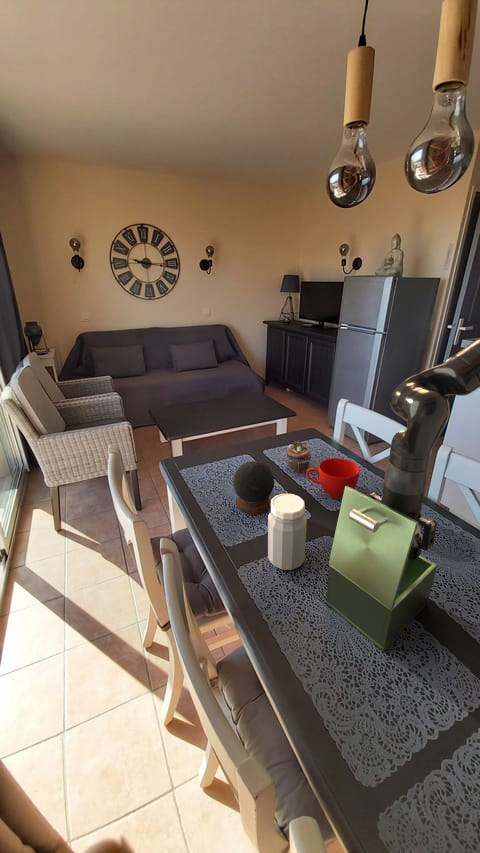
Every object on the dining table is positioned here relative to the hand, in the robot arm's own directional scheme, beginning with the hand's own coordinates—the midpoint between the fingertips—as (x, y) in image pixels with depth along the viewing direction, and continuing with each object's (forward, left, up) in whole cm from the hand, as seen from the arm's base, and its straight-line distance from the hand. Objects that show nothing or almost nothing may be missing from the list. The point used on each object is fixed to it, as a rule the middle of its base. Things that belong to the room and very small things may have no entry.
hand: (393, 546), depth 78 cm
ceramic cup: (-24, -35, -15) cm, 45 cm away
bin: (+3, 0, -15) cm, 15 cm away
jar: (+9, -23, -15) cm, 29 cm away
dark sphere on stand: (0, -47, -15) cm, 49 cm away
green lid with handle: (+10, 0, +6) cm, 12 cm away
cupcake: (-28, -54, -15) cm, 63 cm away
